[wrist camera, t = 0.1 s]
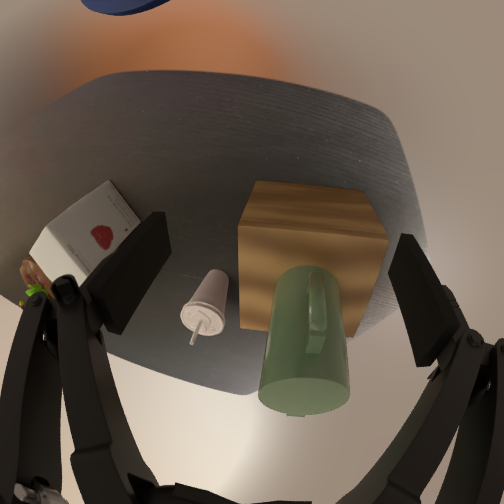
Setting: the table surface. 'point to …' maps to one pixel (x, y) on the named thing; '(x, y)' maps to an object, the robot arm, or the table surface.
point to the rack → (307, 245)
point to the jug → (305, 345)
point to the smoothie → (207, 306)
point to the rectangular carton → (84, 234)
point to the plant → (35, 279)
